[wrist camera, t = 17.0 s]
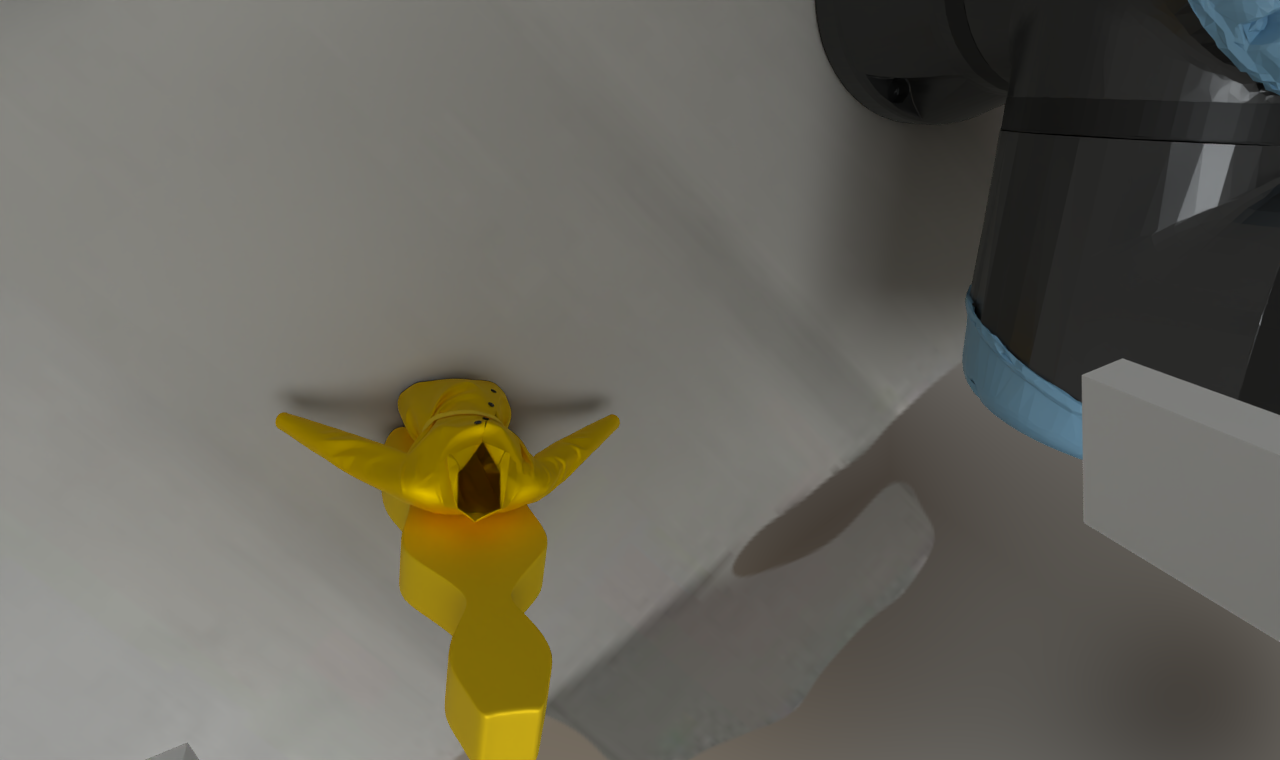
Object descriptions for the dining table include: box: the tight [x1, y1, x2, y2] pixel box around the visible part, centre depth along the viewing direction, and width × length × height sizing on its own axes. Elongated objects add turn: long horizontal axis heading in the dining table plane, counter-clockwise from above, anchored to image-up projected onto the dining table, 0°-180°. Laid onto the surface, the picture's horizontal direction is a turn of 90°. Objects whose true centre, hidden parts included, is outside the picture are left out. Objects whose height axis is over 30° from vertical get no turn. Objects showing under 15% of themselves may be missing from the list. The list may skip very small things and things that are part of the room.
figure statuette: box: [276, 379, 620, 760], centre depth 36 cm, size 18×8×22 cm, turn 82°
